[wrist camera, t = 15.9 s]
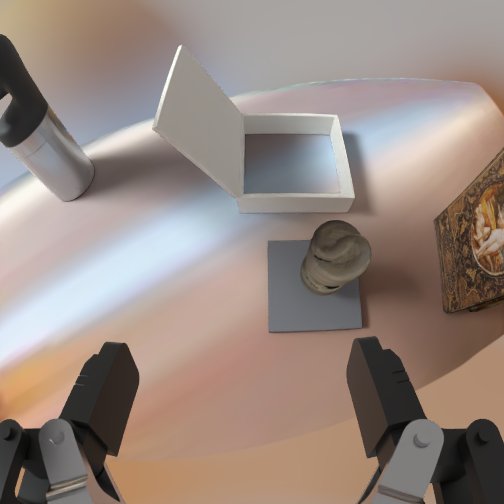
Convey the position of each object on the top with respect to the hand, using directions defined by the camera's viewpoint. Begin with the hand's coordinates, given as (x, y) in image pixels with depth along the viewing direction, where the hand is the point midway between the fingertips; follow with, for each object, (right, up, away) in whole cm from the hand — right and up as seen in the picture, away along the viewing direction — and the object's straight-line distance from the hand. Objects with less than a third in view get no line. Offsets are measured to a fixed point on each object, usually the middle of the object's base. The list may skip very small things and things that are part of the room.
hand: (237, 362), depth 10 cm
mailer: (+3, +17, +36) cm, 40 cm away
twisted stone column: (+9, -1, +28) cm, 30 cm away
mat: (+9, -1, +30) cm, 31 cm away
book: (+32, +2, +30) cm, 44 cm away
